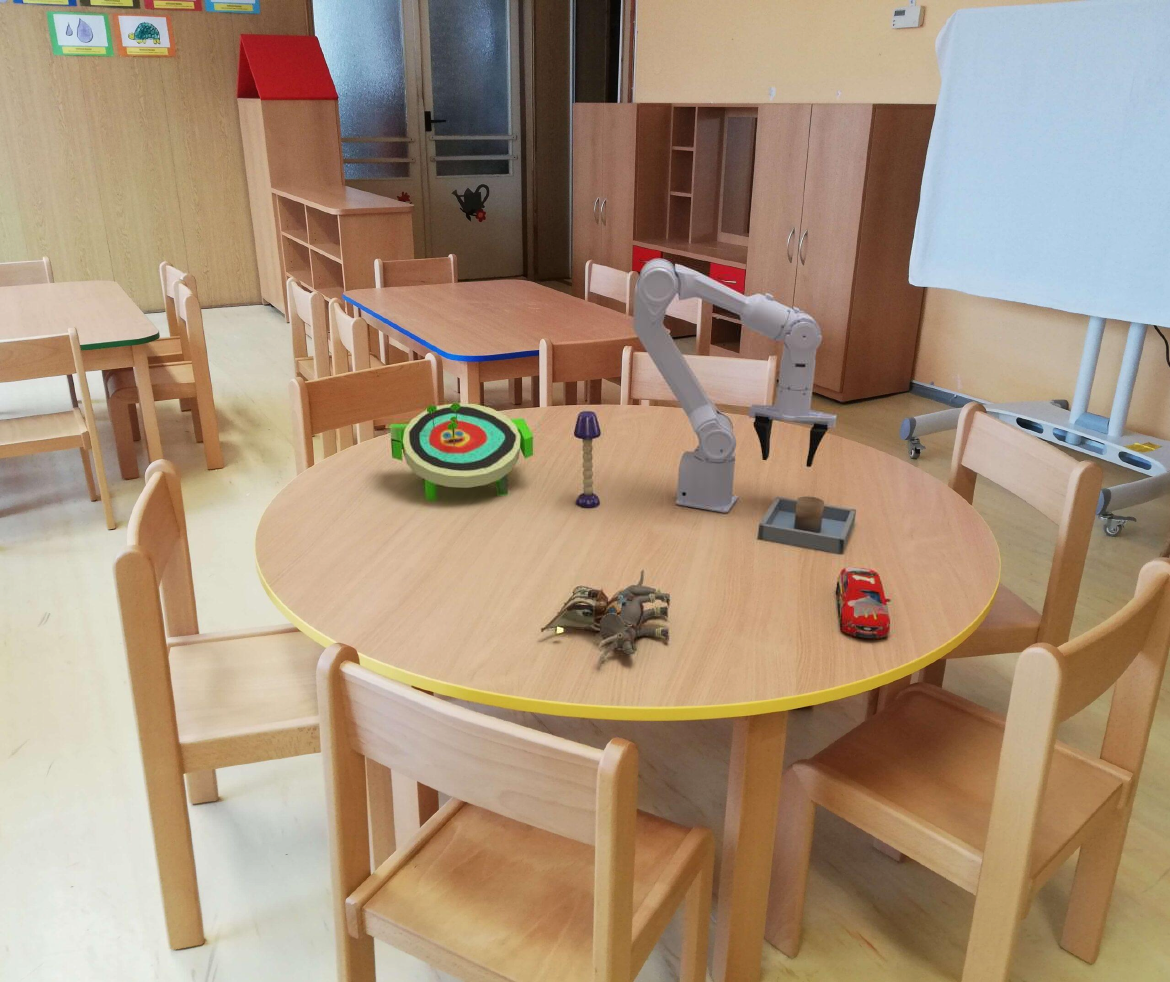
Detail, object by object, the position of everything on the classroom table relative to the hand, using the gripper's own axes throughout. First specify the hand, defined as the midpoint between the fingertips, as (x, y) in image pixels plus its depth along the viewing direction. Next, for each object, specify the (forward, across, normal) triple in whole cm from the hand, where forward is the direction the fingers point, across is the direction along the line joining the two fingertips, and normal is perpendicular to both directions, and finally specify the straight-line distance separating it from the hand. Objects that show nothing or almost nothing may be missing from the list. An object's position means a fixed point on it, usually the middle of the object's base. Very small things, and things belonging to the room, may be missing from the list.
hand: (787, 461), depth 163 cm
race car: (+9, +18, -34) cm, 40 cm away
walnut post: (+8, +6, -9) cm, 14 cm away
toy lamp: (+9, -32, -14) cm, 36 cm away
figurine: (+9, -12, -54) cm, 56 cm away
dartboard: (+9, -55, -17) cm, 58 cm away
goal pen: (+8, +6, -9) cm, 14 cm away
